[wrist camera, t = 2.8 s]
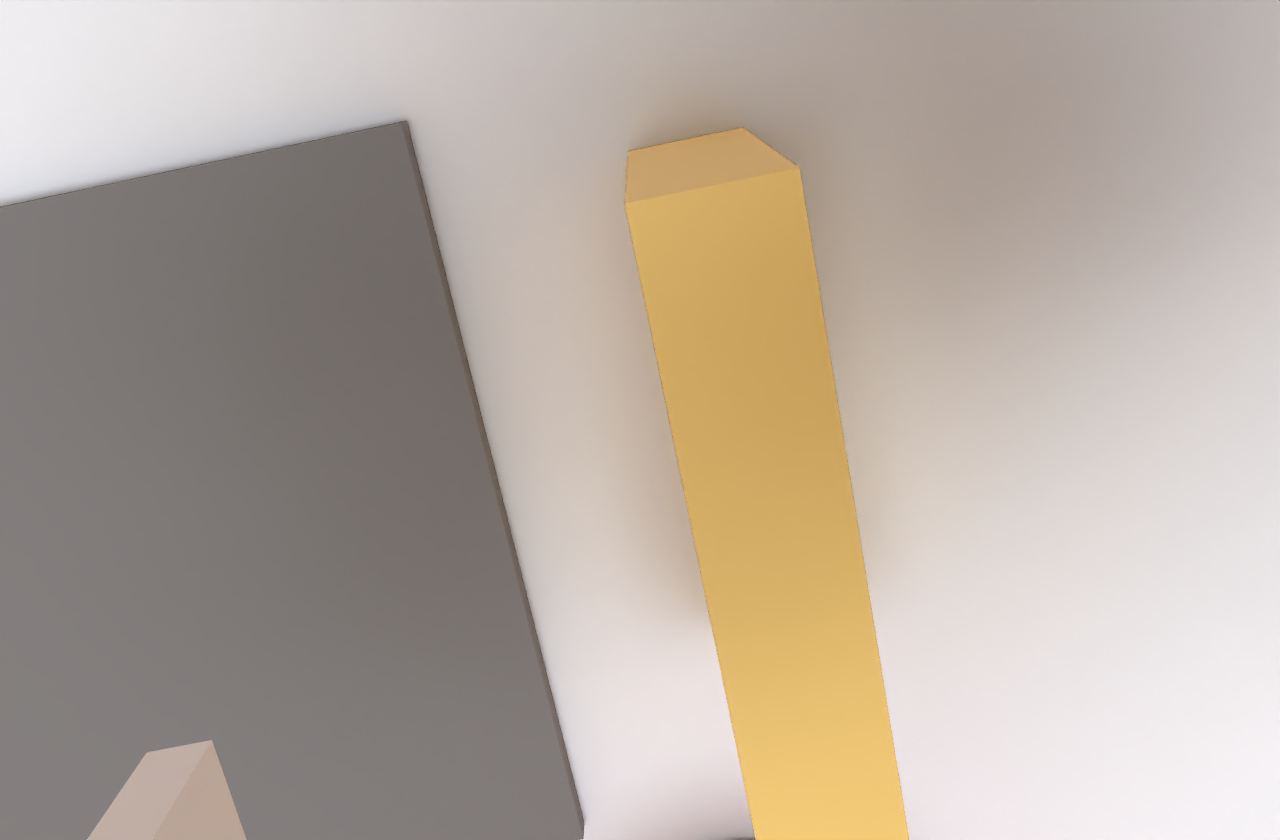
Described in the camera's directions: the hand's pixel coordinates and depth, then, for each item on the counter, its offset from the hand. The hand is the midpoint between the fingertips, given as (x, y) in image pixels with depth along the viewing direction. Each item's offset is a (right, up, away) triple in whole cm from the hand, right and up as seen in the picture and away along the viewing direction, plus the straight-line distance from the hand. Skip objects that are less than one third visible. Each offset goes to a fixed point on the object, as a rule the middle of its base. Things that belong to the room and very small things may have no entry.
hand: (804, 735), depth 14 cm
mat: (-13, 0, +14) cm, 19 cm away
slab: (0, +4, +13) cm, 14 cm away
